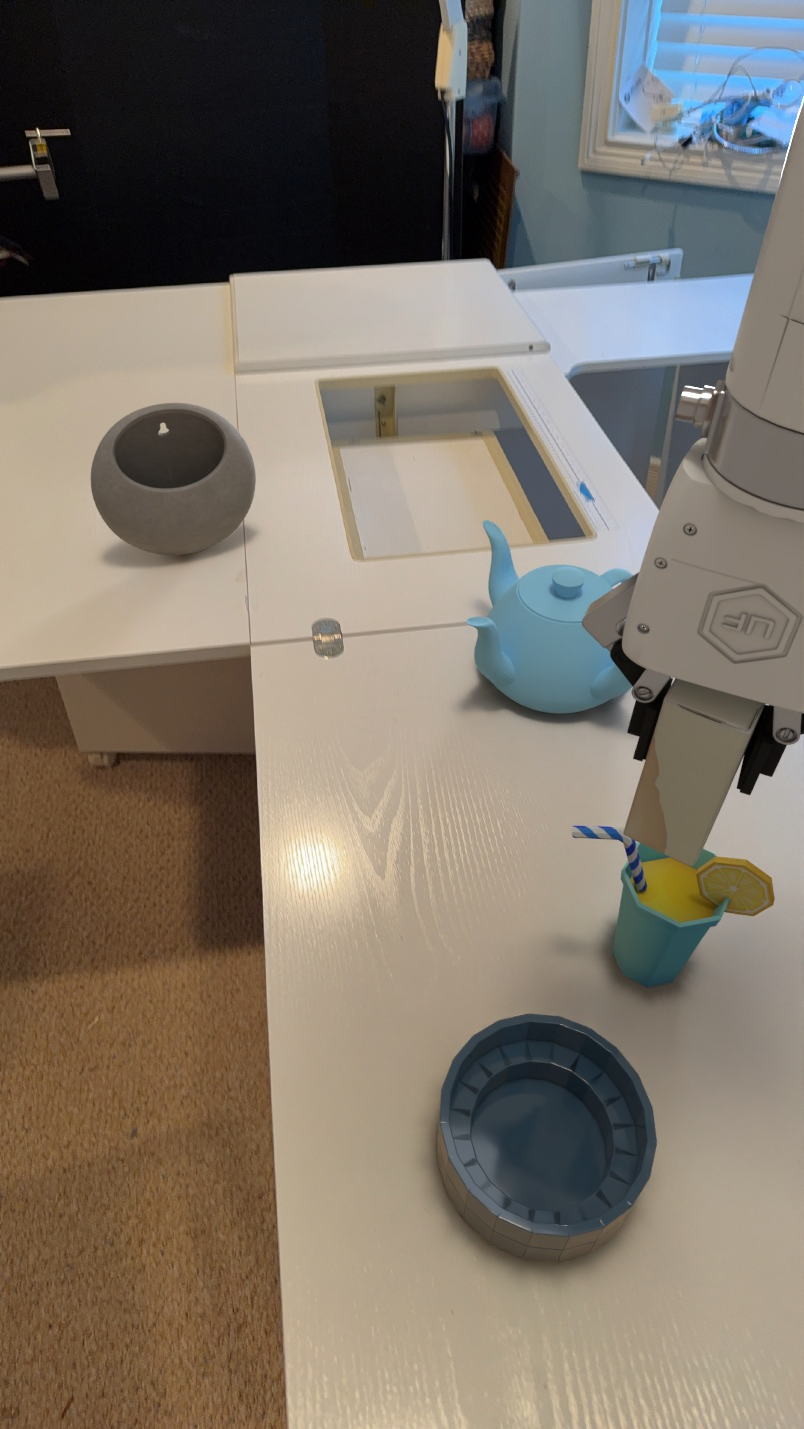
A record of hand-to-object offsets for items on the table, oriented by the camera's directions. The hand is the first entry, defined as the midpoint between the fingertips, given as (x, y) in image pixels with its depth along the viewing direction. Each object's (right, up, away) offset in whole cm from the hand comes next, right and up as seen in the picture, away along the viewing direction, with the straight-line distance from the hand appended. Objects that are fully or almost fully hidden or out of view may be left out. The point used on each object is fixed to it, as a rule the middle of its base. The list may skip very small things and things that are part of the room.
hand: (696, 756), depth 47 cm
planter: (-42, +22, +61) cm, 77 cm away
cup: (+3, -17, +22) cm, 28 cm away
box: (0, -4, +4) cm, 6 cm away
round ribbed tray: (-7, -27, +12) cm, 30 cm away
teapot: (-1, +7, +46) cm, 46 cm away
